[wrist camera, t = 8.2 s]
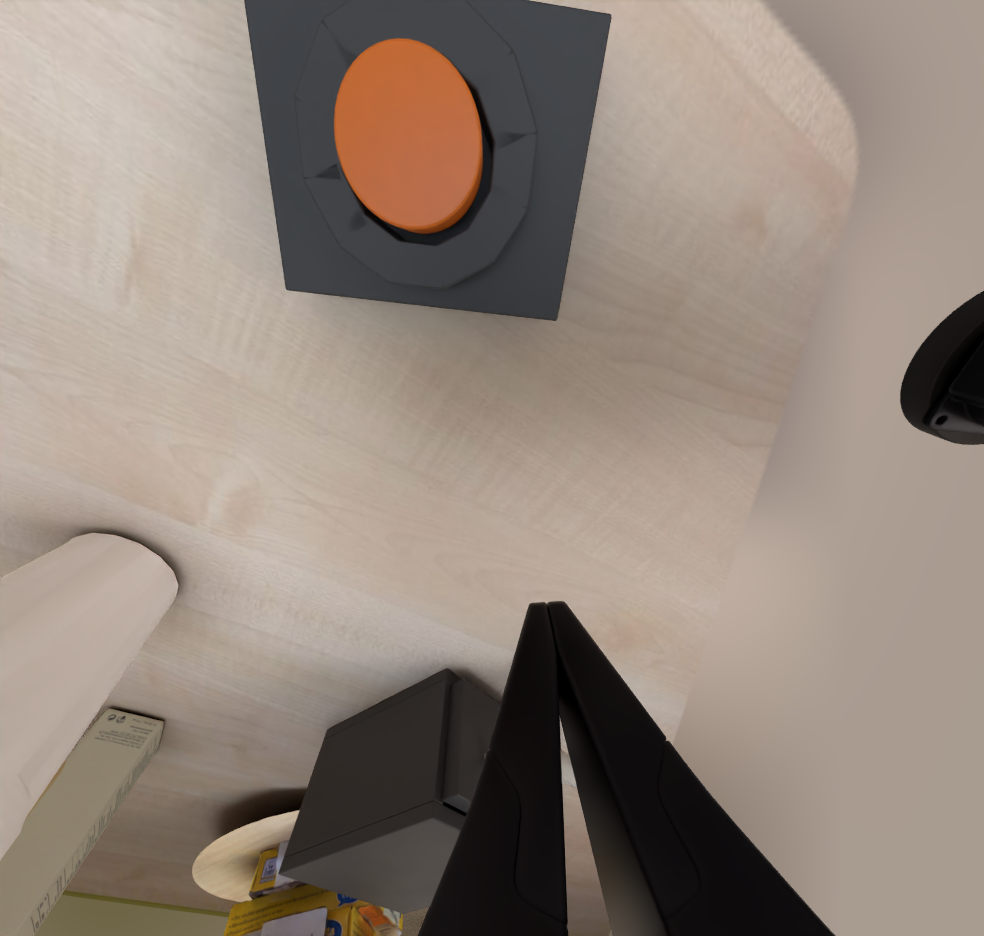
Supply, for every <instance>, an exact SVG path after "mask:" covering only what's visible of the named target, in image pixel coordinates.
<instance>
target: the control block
mask: <svg viewBox="0 0 984 936" xmlns="http://www.w3.org/2000/svg"><path fill="white" fill-rule="evenodd" d="M244 1H245V8H246V15H247V22H248V29H249V36H250V43H251V50H252V57H253V64H254V71H255V78H256V85H257V92H258V99H259V105H260V112H261V119H262V126H263V133H264V140H265V147H266V154H267V161H268V168H269V175H270V182H271V189H272V196H273V203H274V210H275V217H276V223H277V230H278V237H279V244H280V251H281V258H282V265H283V272H284V279H285V286H286V289H287V290H290V291H299V292H307V293H316V294H325V295H334V296H342V297H351V298H360V299H369V300H377V301H386V302H395V303H404V304H412V305H421V306H430V307H439V308H447V309H456V310H465V311H474V312H482V313H491V314H500V315H509V316H517V317H526V318H535V319H544V320H552V321H556V320H557V318H558V312H559V307H560V301H561V295H562V290H563V284H564V279H565V273H566V268H567V262H568V256H569V251H570V245H571V240H572V234H573V229H574V223H575V218H576V212H577V206H578V201H579V195H580V190H581V184H582V179H583V173H584V167H585V162H586V156H587V151H588V145H589V140H590V134H591V128H592V123H593V117H594V112H595V106H596V101H597V95H598V90H599V84H600V78H601V73H602V67H603V62H604V56H605V51H606V45H607V39H608V34H609V28H610V23H611V15H610V14H606V13H600V12H594V11H588V10H582V9H576V8H571V7H565V6H559V5H553V4H547V3H541V2H535V1H529V0H244ZM396 38H403V39H411V40H415V41H419V42H422V43H424V44H426V45H429V46H431V47H432V48H434V49H435V50H437V51H438V52H440V53H441V54H442V55H443V56H444V57H446V58H447V59H448V60H449V61H450V62H451V63H452V64H453V66H454V67H455V68H456V69H457V70H458V72H459V73H460V74H461V76H462V77H463V79H464V80H465V82H466V84H467V86H468V88H469V90H470V92H471V94H472V97H473V99H474V101H475V104H476V108H477V111H478V115H479V119H480V125H481V133H482V149H483V168H482V176H481V181H480V185H479V189H478V192H477V194H476V197H475V199H474V201H473V203H472V205H471V206H470V208H469V209H468V211H467V212H466V213H465V215H464V216H463V217H462V218H461V219H460V220H459V221H458V222H456V223H455V224H454V225H452V226H451V227H449V228H447V229H445V230H443V231H440V232H436V233H430V234H418V233H413V232H409V231H407V230H404V229H401V228H399V227H396V226H394V225H391V224H389V223H387V222H385V221H384V220H382V219H380V218H379V217H378V216H376V215H375V214H374V213H372V212H371V211H370V210H369V209H368V208H367V207H366V206H365V205H364V204H363V203H362V202H361V200H360V199H359V198H358V196H357V195H356V194H355V192H354V191H353V189H352V188H351V186H350V184H349V182H348V181H347V178H346V176H345V174H344V172H343V169H342V166H341V163H340V160H339V157H338V153H337V149H336V143H335V135H334V113H335V104H336V99H337V95H338V91H339V88H340V85H341V83H342V80H343V78H344V76H345V74H346V72H347V71H348V69H349V67H350V66H351V64H352V63H353V62H354V61H355V60H356V58H357V57H358V56H359V55H360V54H361V53H363V52H364V51H365V50H366V49H368V48H369V47H371V46H373V45H374V44H376V43H378V42H381V41H385V40H388V39H396Z"/></svg>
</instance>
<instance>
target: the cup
mask: <svg viewBox="0 0 984 936" xmlns="http://www.w3.org/2000/svg"><path fill="white" fill-rule="evenodd" d="M178 587H179V586H178V583H177V580H176V577H175V574H174V571H173V570H172V569H171V568H170V567H169V566H168V565H167V564H166V563H165V562H164V561H163V559H162V558H161V557H160V556H158V555H157V554H155V553H154V552H152V551H150V550H149V549H147V548H146V547H144V546H143V545H141V544H139V543H137V542H134V541H131V540H128V539H125V538H122V537H119V536H117V535H109V534H100V533H89V534H85V535H81V536H77V537H73V538H72V539H71V540H69V541H68V542H67V543H65V544H63V545H61V546H60V547H58V548H56V549H54V550H52V551H50V552H48V553H46V554H44V555H42V556H41V557H39V558H37V559H35V560H33V561H31V562H29V563H27V564H25V565H23V566H22V567H20V568H18V569H16V570H14V571H12V572H10V573H8V574H6V575H5V576H3V577H1V578H0V860H1V859H2V858H3V856H4V855H5V853H6V852H7V851H8V849H9V848H10V846H11V845H12V844H13V842H14V841H15V839H16V838H17V837H18V835H19V834H20V832H21V829H22V826H23V823H24V821H25V819H26V817H27V815H28V813H29V812H30V811H31V809H32V808H33V806H34V805H35V803H36V802H37V800H38V799H39V797H40V796H41V794H42V793H43V792H44V790H45V789H46V787H47V786H48V784H49V783H50V781H51V780H52V778H53V777H54V775H55V774H56V773H57V771H58V770H59V768H60V767H61V765H62V764H63V762H64V761H65V759H66V758H67V756H68V755H69V753H70V752H71V751H72V749H73V748H74V746H75V745H76V743H77V742H78V740H79V739H80V737H81V736H82V734H83V733H84V732H85V730H86V729H87V727H88V726H89V724H90V723H91V721H92V720H93V718H94V717H95V715H96V714H97V713H98V711H99V710H100V708H101V707H102V705H103V704H104V702H105V701H106V699H107V698H108V696H109V695H110V694H111V692H112V691H113V689H114V688H115V686H116V685H117V683H118V682H119V680H120V679H121V677H122V676H123V674H124V673H125V672H126V670H127V669H128V667H129V666H130V664H131V663H132V661H133V660H134V658H135V657H136V655H137V654H138V653H139V651H140V650H141V648H142V647H143V645H144V644H145V642H146V641H147V639H148V638H149V636H150V635H151V634H152V632H153V631H154V629H155V628H156V626H157V625H158V623H159V622H160V620H161V619H162V617H163V616H164V614H165V613H166V612H167V610H168V609H169V607H170V606H171V604H172V603H173V601H174V600H175V598H176V595H177V591H178Z"/></svg>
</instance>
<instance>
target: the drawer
mask: <svg viewBox="0 0 984 936" xmlns="http://www.w3.org/2000/svg"><path fill="white" fill-rule="evenodd" d="M499 707H500V704H499V703H497V702H496V701H494V700H493V699H492V698H490V697H489V696H488V695H486V694H485V693H483V692H482V691H481V690H479V689H478V688H477V687H475V686H474V685H472V684H471V683H470V682H468V681H467V680H466V679H461V680H459V681H457V682H455V683H453V684H452V688H451V700H450V712H449V724H448V736H447V748H446V760H445V772H444V784H443V796H442V800H443V804H442V805H444V806H446V807H448V808H450V809H452V810H454V811H456V812H457V813H459V814H461V815H463V816H465V817H466V814H467V812H468V809H469V806H470V804H471V801H472V797H473V794H474V791H475V788H476V785H477V782H478V779H479V775H480V772H481V769H482V765H483V762H484V759H485V755H486V752H487V751H488V746H489V742H490V739H491V735H492V732H493V728H494V725H495V721H496V718H497V714H498V711H499ZM561 768H562V784H564V783H568V784H569V785H571V786H572V787H574V788H577V785H576V781H575V777H574V773H573V769H572V765H571V760H570V756H569V755H568V754H567V753H565V752H564V751H562V750H561Z"/></svg>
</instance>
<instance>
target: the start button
mask: <svg viewBox="0 0 984 936" xmlns="http://www.w3.org/2000/svg"><path fill="white" fill-rule="evenodd" d="M334 135H335V143H336V149H337V153H338V157H339V160H340V163H341V166H342V169H343V172H344V174H345V176H346V178H347V181H348V182H349V184H350V186H351V188H352V189H353V191H354V192H355V194H356V195H357V196H358V198H359V199H360V200H361V202H362V203H363V204H364V205H365V206H366V207H367V208H368V209H369V210H370V211H371V212H372V213H374V214H375V215H376V216H378V217H379V218H380V219H382V220H384V221H385V222H387V223H389V224H391V225H394V226H396V227H399V228H401V229H404V230H407V231H409V232H413V233H418V234H430V233H436V232H440V231H443V230H445V229H447V228H449V227H451V226H452V225H454V224H455V223H456V222H458V221H459V220H460V219H461V218H462V217H463V216H464V215H465V213H466V212H467V211H468V209H469V208H470V206H471V205H472V203H473V201H474V199H475V197H476V194H477V192H478V189H479V185H480V181H481V176H482V168H483V149H482V133H481V125H480V119H479V115H478V111H477V108H476V104H475V101H474V99H473V97H472V94H471V92H470V90H469V88H468V86H467V84H466V82H465V80H464V79H463V77H462V76H461V74H460V73H459V72H458V70H457V69H456V68H455V67H454V66H453V64H452V63H451V62H450V61H449V60H448V59H447V58H446V57H444V56H443V55H442V54H441V53H440V52H438V51H437V50H435V49H434V48H432V47H431V46H429V45H426V44H424V43H422V42H419V41H415V40H411V39H403V38H396V39H388V40H385V41H381V42H378V43H376V44H374V45H373V46H371V47H369V48H368V49H366V50H365V51H364V52H363V53H361V54H360V55H359V56H358V57H357V58H356V60H355V61H354V62H353V63H352V64H351V66H350V67H349V69H348V71H347V72H346V74H345V76H344V78H343V80H342V83H341V85H340V88H339V91H338V95H337V99H336V104H335V113H334Z"/></svg>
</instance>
